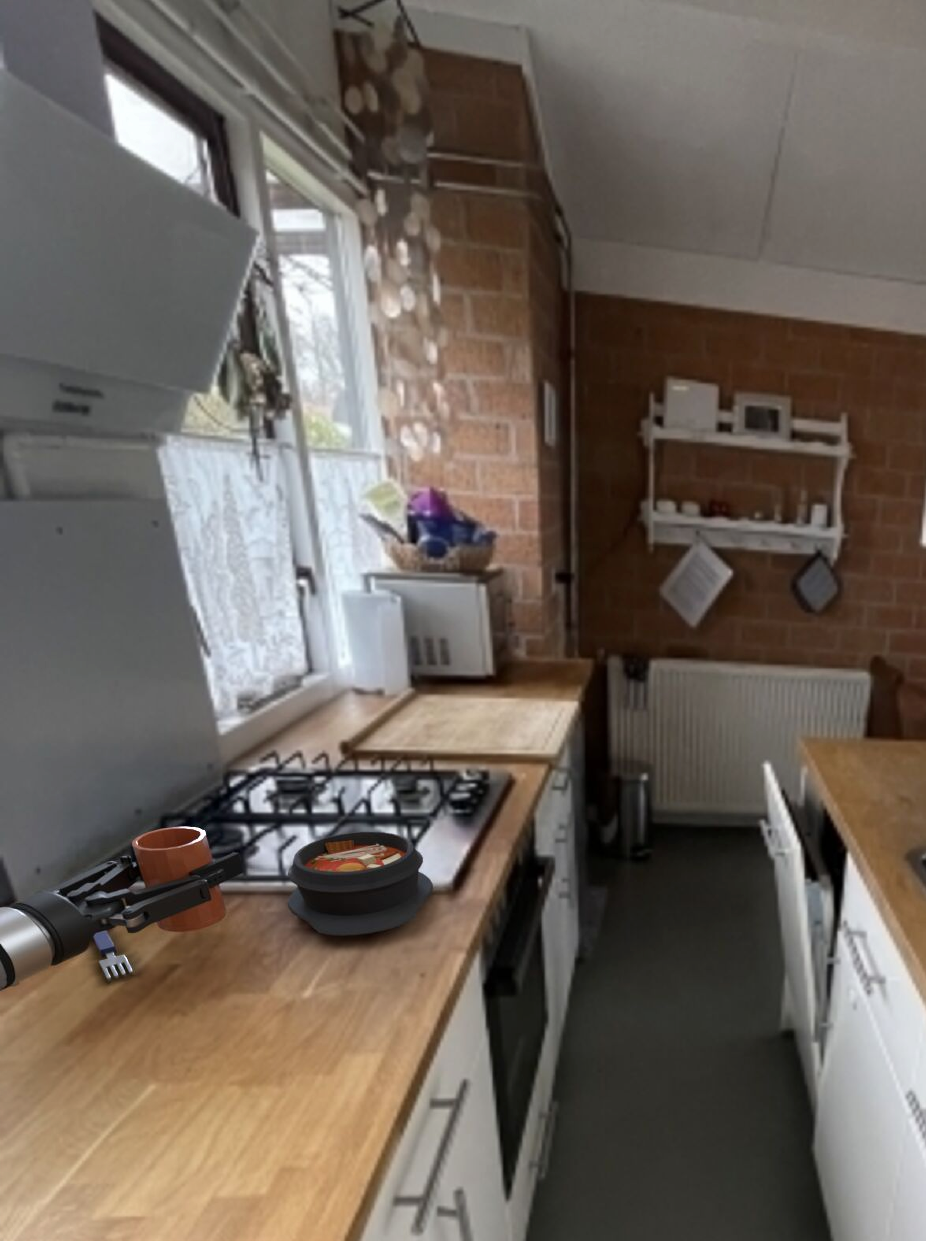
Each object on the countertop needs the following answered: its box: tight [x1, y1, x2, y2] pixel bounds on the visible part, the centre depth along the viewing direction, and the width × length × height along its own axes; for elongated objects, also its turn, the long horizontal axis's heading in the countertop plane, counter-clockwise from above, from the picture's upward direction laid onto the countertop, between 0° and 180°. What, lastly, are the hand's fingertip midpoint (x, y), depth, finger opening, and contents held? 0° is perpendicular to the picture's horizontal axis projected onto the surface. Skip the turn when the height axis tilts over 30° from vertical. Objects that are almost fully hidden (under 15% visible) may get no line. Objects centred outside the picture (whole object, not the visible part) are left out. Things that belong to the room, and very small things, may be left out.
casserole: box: [286, 831, 434, 936], centre depth 121 cm, size 25×19×8 cm
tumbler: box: [131, 826, 227, 933], centre depth 108 cm, size 7×7×11 cm
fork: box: [92, 930, 135, 982], centre depth 108 cm, size 16×3×1 cm, turn 44°
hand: (212, 857), depth 111 cm, fingers closed on tumbler, 7 cm apart
